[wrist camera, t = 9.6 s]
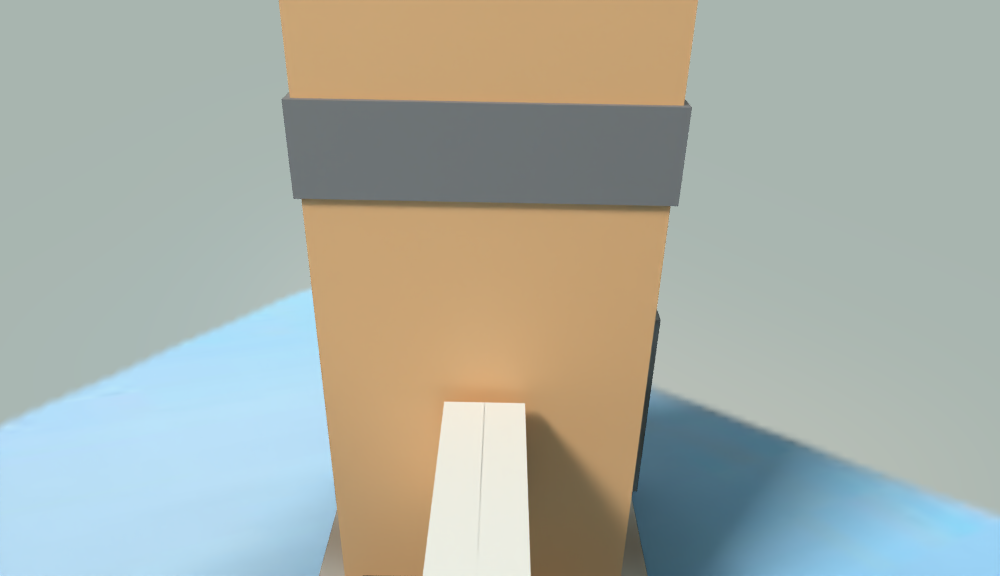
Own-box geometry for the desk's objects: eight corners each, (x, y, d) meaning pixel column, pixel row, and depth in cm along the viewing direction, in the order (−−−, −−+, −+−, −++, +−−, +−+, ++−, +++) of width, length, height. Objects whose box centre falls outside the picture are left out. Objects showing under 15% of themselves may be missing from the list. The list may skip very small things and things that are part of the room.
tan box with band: (615, 657, 17) (725, -137, 10) (348, 651, 17) (251, -146, 10) (592, 495, 22) (656, -130, 14) (381, 491, 22) (333, -136, 14)
